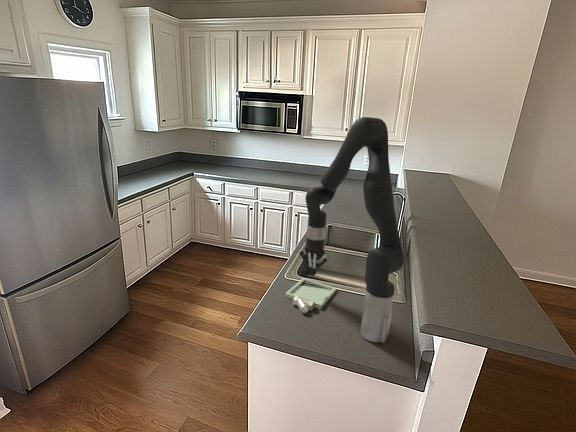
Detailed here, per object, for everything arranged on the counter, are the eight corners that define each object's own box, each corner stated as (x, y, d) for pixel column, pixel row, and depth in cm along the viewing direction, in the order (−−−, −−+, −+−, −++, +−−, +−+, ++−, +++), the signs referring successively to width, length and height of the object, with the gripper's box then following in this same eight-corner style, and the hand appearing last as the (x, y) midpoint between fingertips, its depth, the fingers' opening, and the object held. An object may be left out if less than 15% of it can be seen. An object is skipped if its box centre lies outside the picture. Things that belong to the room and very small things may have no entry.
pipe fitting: (307, 317, 127) (314, 308, 133) (308, 308, 126) (315, 300, 132) (288, 310, 131) (295, 302, 136) (289, 301, 129) (296, 293, 135)
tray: (336, 292, 145) (336, 288, 145) (320, 309, 132) (320, 305, 131) (303, 281, 153) (303, 277, 152) (285, 297, 139) (285, 293, 139)
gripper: (334, 236, 134) (330, 275, 140) (305, 229, 141) (302, 267, 146) (327, 242, 128) (323, 283, 133) (296, 235, 134) (294, 274, 140)
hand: (312, 274), depth 140 cm, fingers closed
